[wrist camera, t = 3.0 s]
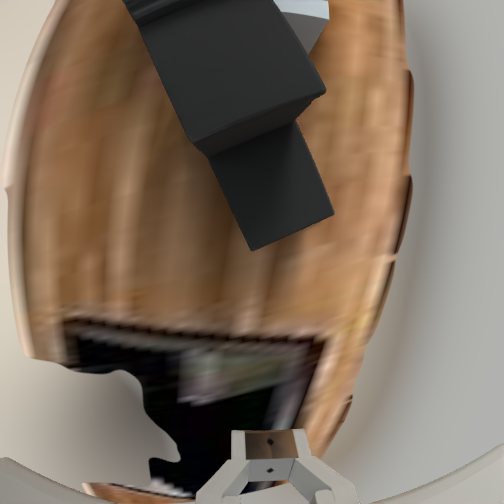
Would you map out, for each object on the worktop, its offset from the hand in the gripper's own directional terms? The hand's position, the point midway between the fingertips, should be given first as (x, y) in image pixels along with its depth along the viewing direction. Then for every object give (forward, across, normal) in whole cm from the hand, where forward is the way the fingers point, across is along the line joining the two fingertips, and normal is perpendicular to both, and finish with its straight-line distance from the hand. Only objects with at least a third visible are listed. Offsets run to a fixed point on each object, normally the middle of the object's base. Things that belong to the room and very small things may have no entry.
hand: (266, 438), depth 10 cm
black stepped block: (+30, 0, -15) cm, 33 cm away
